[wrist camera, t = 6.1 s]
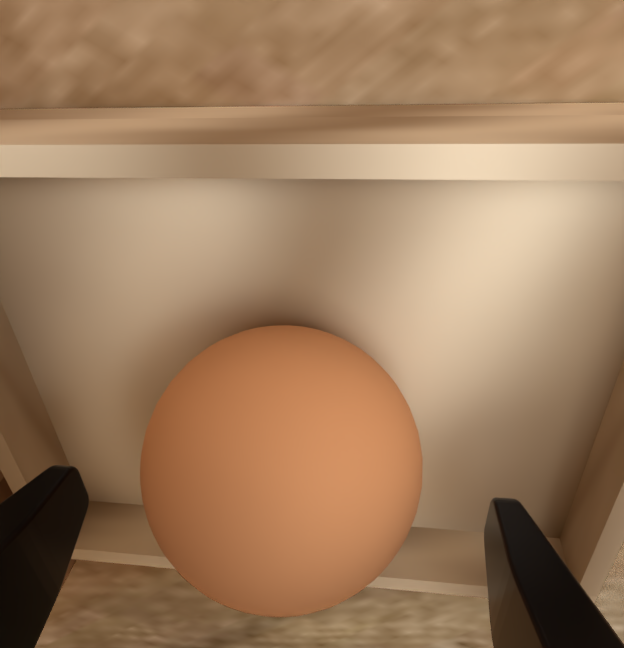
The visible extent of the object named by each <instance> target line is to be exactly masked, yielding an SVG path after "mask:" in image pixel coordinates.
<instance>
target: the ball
mask: <svg viewBox="0 0 624 648" xmlns="http://www.w3.org/2000/svg"><path fill="white" fill-rule="evenodd" d="M422 466H423V458H422V451H421V445H420V439H419V433H418V429H417V427H416V424H415V421H414V418H413V415H412V413H411V410H410V407H409V405H408V403H407V402H406V400H405V398H404V396H403V395H402V393H401V391H400V389H399V388H398V386H397V384H396V383H395V382H394V381H393V379H392V378H391V377H390V376H389V374H388V373H387V372H386V371H385V370H384V369H383V368H382V367H381V366H380V365H379V364H378V363H377V362H376V361H375V360H374V359H373V358H372V357H371V356H369V355H368V354H367V353H365V352H364V351H363V350H361V349H360V348H358V347H357V346H355V345H353V344H351V343H350V342H348V341H346V340H344V339H342V338H340V337H337V336H335V335H333V334H330V333H327V332H324V331H321V330H318V329H313V328H308V327H303V326H292V325H277V326H265V327H258V328H253V329H249V330H245V331H242V332H239V333H237V334H234V335H232V336H229V337H227V338H224V339H222V340H220V341H218V342H216V343H215V344H213V345H211V346H209V347H208V348H206V349H205V350H204V351H202V352H201V353H200V354H198V355H197V356H196V357H194V358H193V359H192V360H191V361H189V362H188V363H187V364H186V365H185V367H184V368H183V369H182V370H181V371H180V372H179V373H178V374H177V375H176V376H175V377H174V378H173V380H172V381H171V382H170V383H169V385H168V387H167V388H166V390H165V391H164V393H163V395H162V396H161V398H160V399H159V401H158V403H157V404H156V406H155V409H154V411H153V414H152V416H151V419H150V421H149V424H148V426H147V429H146V433H145V437H144V442H143V447H142V452H141V462H140V485H141V493H142V501H143V505H144V509H145V513H146V516H147V519H148V523H149V526H150V528H151V530H152V533H153V535H154V537H155V539H156V541H157V543H158V545H159V547H160V549H161V550H162V552H163V553H164V555H165V557H166V558H167V559H168V560H169V562H170V563H171V564H172V565H173V567H174V568H175V569H176V570H177V571H178V573H179V574H180V575H181V576H182V577H183V578H184V579H185V580H186V581H187V582H189V583H190V584H191V585H192V586H194V587H195V588H196V589H198V590H199V591H200V592H201V593H203V594H204V595H206V596H207V597H209V598H210V599H212V600H214V601H216V602H218V603H220V604H222V605H225V606H227V607H229V608H232V609H235V610H238V611H242V612H245V613H249V614H254V615H260V616H269V617H292V616H300V615H306V614H309V613H313V612H317V611H321V610H325V609H327V608H330V607H333V606H335V605H337V604H339V603H341V602H342V601H344V600H346V599H348V598H350V597H352V596H354V595H355V594H357V593H358V592H360V591H361V590H362V589H364V588H365V587H366V586H367V585H369V584H370V583H371V582H372V581H374V580H375V579H376V578H377V577H378V576H379V575H380V574H381V573H382V572H383V571H384V569H385V568H386V567H387V566H388V565H389V563H390V562H391V561H392V560H393V558H394V557H395V556H396V554H397V553H398V551H399V550H400V548H401V546H402V544H403V543H404V541H405V539H406V538H407V535H408V533H409V531H410V529H411V526H412V523H413V521H414V518H415V515H416V513H417V508H418V504H419V499H420V494H421V489H422Z"/></svg>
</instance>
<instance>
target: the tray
mask: <svg viewBox="0 0 624 648" xmlns="http://www.w3.org/2000/svg"><path fill="white" fill-rule="evenodd" d="M277 325H292V326H303V327H308V328H313V329H318V330H321V331H324V332H327V333H330V334H333V335H335V336H337V337H340V338H342V339H344V340H346V341H348V342H350V343H351V344H353V345H355V346H357V347H358V348H360V349H361V350H363V351H364V352H365V353H367V354H368V355H369V356H371V357H372V358H373V359H374V360H375V361H376V362H377V363H378V364H379V365H380V366H381V367H382V368H383V369H384V370H385V371H386V372H387V373H388V374H389V376H390V377H391V378H392V379H393V381H394V382H395V383H396V384H397V386H398V388H399V389H400V391H401V393H402V395H403V396H404V398H405V400H406V402H407V403H408V405H409V407H410V410H411V413H412V415H413V418H414V421H415V424H416V427H417V429H418V433H419V439H420V445H421V451H422V458H423V466H422V489H421V494H420V499H419V504H418V508H417V513H416V515H415V518H414V521H413V523H412V526H411V529H410V531H409V533H408V535H407V538H406V539H405V541H404V543H403V544H402V546H401V548H400V550H399V551H398V553H397V554H396V556H395V557H394V558H393V560H392V561H391V562H390V563H389V565H388V566H387V567H386V568H385V569H384V571H383V572H382V573H381V574H380V575H379V576H378V577H377V578H376V579H375V580H374V581H372V582H371V583H370V584H369V585H367V586H366V587H374V588H384V589H395V590H405V591H416V592H427V593H437V594H448V595H459V596H469V597H480V598H488V587H487V574H486V561H485V548H484V528H485V523H486V519H487V514H488V510H489V505H490V502H491V500H492V499H493V498H495V497H499V498H513V499H516V500H518V501H519V502H521V504H522V505H523V506H524V508H525V509H526V511H527V512H528V513H529V515H530V516H531V517H532V519H533V520H534V522H535V523H536V524H537V526H538V527H539V528H540V530H541V531H542V533H543V534H544V535H545V537H546V538H547V539H548V541H549V542H550V544H551V545H552V546H553V548H554V549H555V550H556V552H557V553H558V554H559V556H560V557H561V559H562V560H563V561H564V563H565V564H566V565H567V567H568V568H569V570H570V571H571V572H572V574H573V575H574V576H575V578H576V579H577V581H578V582H579V583H580V585H581V586H582V587H583V589H584V590H585V592H586V593H587V594H588V596H589V597H590V598H591V600H592V601H593V603H594V604H595V602H596V600H597V598H598V596H599V593H600V591H601V589H602V587H603V585H604V583H605V581H606V579H607V577H608V574H609V572H610V570H611V568H612V566H613V564H614V562H615V560H616V557H617V555H618V553H619V551H620V549H621V547H622V545H623V543H624V103H532V104H436V105H340V106H244V107H148V108H52V109H0V470H1V472H2V473H3V475H4V477H5V479H6V481H7V483H8V485H9V487H10V489H11V491H12V492H13V494H14V493H15V492H16V491H18V490H19V489H20V488H22V487H23V486H24V485H26V484H27V483H28V482H30V481H31V480H32V479H34V478H35V477H37V476H38V475H39V474H41V473H42V472H43V471H45V470H46V469H47V468H49V467H51V466H53V465H66V466H74V467H76V468H77V469H78V471H79V473H80V475H81V478H82V480H83V483H84V485H85V487H86V490H87V492H88V496H89V505H88V510H87V513H86V516H85V519H84V522H83V525H82V528H81V531H80V533H79V536H78V539H77V542H76V545H75V548H74V551H73V554H72V557H71V559H76V560H87V561H97V562H108V563H119V564H129V565H140V566H150V567H161V568H172V569H175V568H174V567H173V565H172V564H171V563H170V562H169V560H168V559H167V558H166V557H165V555H164V553H163V552H162V550H161V549H160V547H159V545H158V543H157V541H156V539H155V537H154V535H153V533H152V530H151V528H150V526H149V523H148V519H147V516H146V513H145V509H144V505H143V501H142V493H141V485H140V462H141V452H142V447H143V442H144V437H145V433H146V429H147V426H148V424H149V421H150V419H151V416H152V414H153V411H154V409H155V406H156V404H157V403H158V401H159V399H160V398H161V396H162V395H163V393H164V391H165V390H166V388H167V387H168V385H169V383H170V382H171V381H172V380H173V378H174V377H175V376H176V375H177V374H178V373H179V372H180V371H181V370H182V369H183V368H184V367H185V365H186V364H187V363H188V362H189V361H191V360H192V359H193V358H194V357H196V356H197V355H198V354H200V353H201V352H202V351H204V350H205V349H206V348H208V347H209V346H211V345H213V344H215V343H216V342H218V341H220V340H222V339H224V338H227V337H229V336H232V335H234V334H237V333H239V332H242V331H245V330H249V329H253V328H258V327H265V326H277Z"/></svg>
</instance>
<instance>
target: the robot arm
mask: <svg viewBox="0 0 624 648" xmlns="http://www.w3.org/2000/svg"><path fill="white" fill-rule="evenodd" d="M88 505H89V496H88V492H87V490H86V487H85V485H84V483H83V480H82V478H81V475H80V473H79V471H78V469H77V468H76V467H74V466H66V465H53V466H51V467H49V468H47V469H46V470H45V471H43V472H42V473H41V474H39V475H38V476H37V477H35V478H34V479H32V480H31V481H30V482H28V483H27V484H26V485H24V486H23V487H22V488H20V489H19V490H18V491H16V492H15V493H14V494H12V495H11V496H10V497H8V498H7V499H6V500H4V501H3V502H1V503H0V648H35V645H36V643H37V641H38V639H39V637H40V634H41V632H42V630H43V628H44V625H45V623H46V621H47V619H48V617H49V614H50V612H51V610H52V608H53V606H54V603H55V601H56V599H57V596H58V594H59V591H60V589H61V586H62V583H63V581H64V578H65V575H66V572H67V569H68V566H69V563H70V560H71V557H72V554H73V551H74V548H75V545H76V542H77V539H78V536H79V533H80V531H81V528H82V525H83V522H84V519H85V516H86V513H87V510H88ZM484 548H485V561H486V574H487V587H488V600H489V612H490V624H491V633H492V640H493V646H494V648H624V644H623V642H622V641H621V640H620V638H619V637H618V636H617V634H616V633H615V631H614V630H613V629H612V627H611V626H610V625H609V623H608V622H607V620H606V619H605V618H604V616H603V615H602V614H601V612H600V611H599V609H598V608H597V607H596V605H595V604H594V603H593V601H592V600H591V598H590V597H589V596H588V594H587V593H586V592H585V590H584V589H583V587H582V586H581V585H580V583H579V582H578V581H577V579H576V578H575V576H574V575H573V574H572V572H571V571H570V570H569V568H568V567H567V565H566V564H565V563H564V561H563V560H562V559H561V557H560V556H559V554H558V553H557V552H556V550H555V549H554V548H553V546H552V545H551V544H550V542H549V541H548V539H547V538H546V537H545V535H544V534H543V533H542V531H541V530H540V528H539V527H538V526H537V524H536V523H535V522H534V520H533V519H532V517H531V516H530V515H529V513H528V512H527V511H526V509H525V508H524V506H523V505H522V504H521V502H519V501H518V500H516V499H513V498H499V497H495V498H493V499H492V500H491V502H490V505H489V510H488V514H487V519H486V523H485V528H484Z"/></svg>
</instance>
